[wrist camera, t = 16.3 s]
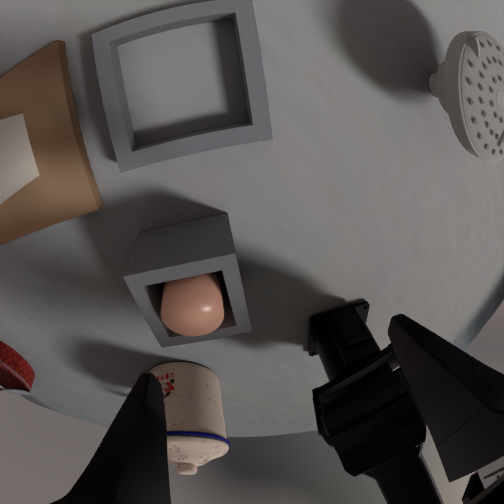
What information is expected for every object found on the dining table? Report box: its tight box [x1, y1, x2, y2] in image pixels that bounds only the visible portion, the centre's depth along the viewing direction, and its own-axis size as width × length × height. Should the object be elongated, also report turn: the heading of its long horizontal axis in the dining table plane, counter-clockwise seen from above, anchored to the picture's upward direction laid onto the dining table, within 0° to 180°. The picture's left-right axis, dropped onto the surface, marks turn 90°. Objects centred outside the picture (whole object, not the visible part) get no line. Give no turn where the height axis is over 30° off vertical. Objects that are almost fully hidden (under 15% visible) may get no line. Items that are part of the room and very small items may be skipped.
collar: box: [92, 0, 273, 173], centre depth 13 cm, size 9×9×2 cm
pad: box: [0, 40, 103, 245], centre depth 12 cm, size 12×12×1 cm
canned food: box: [0, 341, 35, 395], centre depth 21 cm, size 11×10×10 cm
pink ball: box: [161, 271, 224, 336], centre depth 17 cm, size 4×4×4 cm
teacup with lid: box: [148, 362, 230, 475], centre depth 24 cm, size 12×9×12 cm
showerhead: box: [429, 31, 504, 162], centre depth 12 cm, size 9×7×10 cm
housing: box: [123, 213, 252, 347], centre depth 18 cm, size 6×6×5 cm
